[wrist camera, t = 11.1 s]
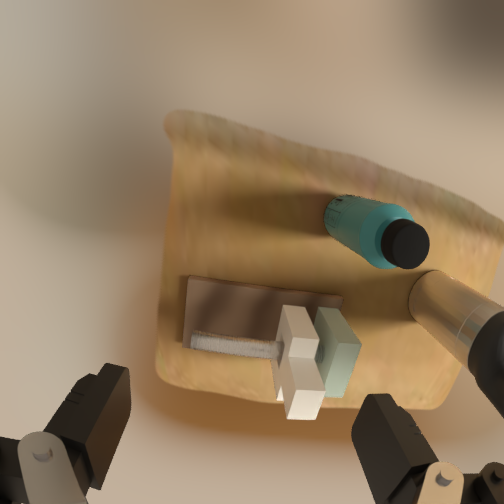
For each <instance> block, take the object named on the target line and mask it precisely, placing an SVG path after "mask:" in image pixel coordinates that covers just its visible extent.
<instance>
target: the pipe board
mask: <svg viewBox="0 0 504 504" xmlns="http://www.w3.org/2000/svg"><path fill="white" fill-rule="evenodd" d="M343 300H344V299H343V298H342V297H341V296H338V295H330V294H322V293H314V292H306V291H298V290H290V289H282V288H275V287H267V286H260V285H253V284H246V283H239V282H232V281H225V280H218V279H211V278H205V277H198V276H191V275H190V276H189V278H188V285H187V296H186V307H185V319H184V331H183V345H182V347H183V348H189V349H191V338H192V332H193V330H197V331H203V332H210V333H217V334H224V335H231V336H239V337H247V338H255V339H263V340H272V341H275V340H276V335H277V331H278V326H279V321H280V317H281V312H282V307H283V305H291V306H300V307H305V308H306V311H307V313H308V315H309V317H310V319H311V322H312V324H313V326H314V322H315V318H316V314H317V310H318V307H326V308H336V309H338V310H339V311H341V307H342V303H343Z"/></svg>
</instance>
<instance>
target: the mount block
mask: <svg viewBox="0 0 504 504" xmlns="http://www.w3.org/2000/svg"><path fill="white" fill-rule="evenodd" d="M314 328H315V331H316V333H317V335H318V337H319V339H320V340H319V343H318V345H324V347H325V357H324V361H323V362H322V363H316V365H317V368H318V370H319V373H320V376H321V379H322V381H323V384H324V387H325V389H326V392H325V395H324V397H343V395H344V392H345V390H346V387H347V384H348V382H349V379H350V376H351V374H352V371H353V368H354V366H355V363H356V360H357V357H358V354H359V351H360V348H361V345H362V344H361V342H360V341H359V339H358V338H357V336H356V335H355V333H354V332H353V330H352V329H351V327H350V326H349V324H348V323H347V321H346V320H345V319H344V317H343V316H342V314H341V313H340V311H339V310H338V309H336V308H326V307H318V310H317V314H316V318H315V322H314Z"/></svg>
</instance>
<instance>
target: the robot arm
mask: <svg viewBox="0 0 504 504" xmlns="http://www.w3.org/2000/svg"><path fill="white" fill-rule="evenodd" d="M408 306H409V311H410V314H411V315H412V317H413V318H414V319H415V320H416V321H417V322H418V323H419V324H420V325H422V326H423V327H424V328H425V329H426V330H427V331H428V332H429V333H430V334H431V335H432V336H433V337H434V338H435V339H436V340H437V341H439V342H440V343H441V344H442V345H443V346H444V347H445V348H446V349H447V350H448V351H449V352H450V353H451V354H452V355H453V356H454V357H455V358H456V359H457V360H458V361H459V362H461V363H462V364H463V365H464V366H465V367H466V368H467V369H468V370H469V371H470V372H471V373H472V374H473V375H474V377H475V380H476V382H477V385H478V387H479V388H480V389H481V391H482V392H483V393H484V394H485V395H486V397H487V398H488V399H489V400H490V402H491V403H492V404H493V405H494V407H495V408H496V409H497V410H498V412H499V413H500V414H501V416H502V417H503V418H504V307H502V306H501V305H499V304H497V303H496V302H494V301H492V300H491V299H489V298H487V297H486V296H484V295H482V294H480V293H479V292H477V291H475V290H474V289H472V288H470V287H468V286H467V285H465V284H463V283H462V282H460V281H458V280H456V279H455V278H453V277H451V276H449V275H447V274H446V273H444V272H442V271H437V270H436V271H431V272H428V273H426V274H424V275H423V276H422V277H421V278H419V279H418V281H417V282H416V283H415V285H414V286H413V288H412V290H411V293H410V296H409V304H408ZM130 411H131V392H130V376H129V369H128V368H126V367H122V366H118V365H113V364H110V363H106V364H104V366H103V367H102V369H101V370H100V372H99V373H98V375H94V374H90V373H89V374H88V375H86V376H85V377H83V378H81V379H80V380H78V381H77V382H76V384H75V385H74V387H73V388H72V389H71V392H70V393H69V394H68V395H67V397H66V398H65V401H63V402H62V404H61V405H60V407H59V408H58V410H57V411H56V413H55V414H54V416H53V417H52V419H51V420H50V422H49V423H48V425H47V426H46V428H45V429H44V430H43V432H33V433H30V434H28V435H26V436H25V437H23V438H22V439H21V440H15V439H10V438H4V437H0V504H21V503H23V504H88V502H87V499H86V497H85V496H86V494H87V491H88V489H89V487H91V488H95V489H97V490H101V487H102V485H103V482H104V480H105V477H106V474H107V472H108V469H109V466H110V464H111V461H112V459H113V456H114V454H115V451H116V449H117V446H118V444H119V441H120V439H121V436H122V434H123V431H124V429H125V427H126V424H127V422H128V419H129V416H130ZM351 436H352V442H353V444H354V447H355V449H356V452H357V455H358V457H359V460H360V463H361V465H362V468H363V471H364V473H365V476H366V479H367V481H368V484H369V487H370V490H371V492H372V495H373V498H374V500H375V503H376V504H504V465H503V464H501V463H497V462H492V463H488V464H487V465H486V466H485V467H484V468H483V469H482V470H481V472H480V473H479V474H462V472H461V471H460V470H459V468H458V467H456V466H455V465H453V464H451V463H449V462H443V461H442V462H439V460H438V459H437V457H436V455H435V454H434V452H433V450H432V449H431V447H430V445H429V444H428V442H427V440H426V439H425V438H424V436H423V434H421V431H420V429H419V428H418V426H416V423H415V421H414V420H413V418H412V416H411V415H410V414H409V413H408V412H406V411H405V410H404V409H403V408H402V407H401V406H397V404H396V403H395V401H394V400H393V398H392V396H391V395H390V394H387V393H386V394H368V395H367V396H366V398H365V400H364V402H363V404H362V406H361V409H360V411H359V413H358V415H357V417H356V419H355V422H354V424H353V426H352V432H351Z"/></svg>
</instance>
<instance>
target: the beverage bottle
mask: <svg viewBox="0 0 504 504" xmlns="http://www.w3.org/2000/svg"><path fill="white" fill-rule="evenodd" d="M323 220H324V223H325V227H326V229H327V231H328V232H329V234H330V235H331V236H332V237H333V238H335V239H336V240H338V241H339V242H341V243H342V244H344V246H347V247H348V248H350V249H351V250H353V251H355V253H357V254H359V255H360V256H362V257H363V258H364V259H366V260H367V261H368V262H369V263H370V264H371V265H373V266H375V267H377V268H380V269H392V268H395V267H400V268H403V269H413V268H416V267H418V266H419V265H420V264H421V263H422V262H423V261H424V260H425V258H426V257H427V254H428V252H429V246H430V242H429V237H428V234H427V232H426V231H425V229H424V228H423V227H422V226H420V225H419V224H417V223H415V222H414V219H413V218H412V216H411V215H410V213H409V212H408V211H407V210H406V209H404V208H403V207H401V206H399V205H396V204H388V203H383V202H379V201H375V200H370V199H365V198H360V197H357V196H356V197H355V196H352V195H351V194H350V195H347V194H346V195H344V194H343V196H340V195H339V197H337V198H335V199H332V200H331V202H329V205H328V206H327V207H326V211H325V214H324V217H323ZM335 239H334V240H335ZM338 241H337V242H338ZM342 244H341V245H342Z"/></svg>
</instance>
